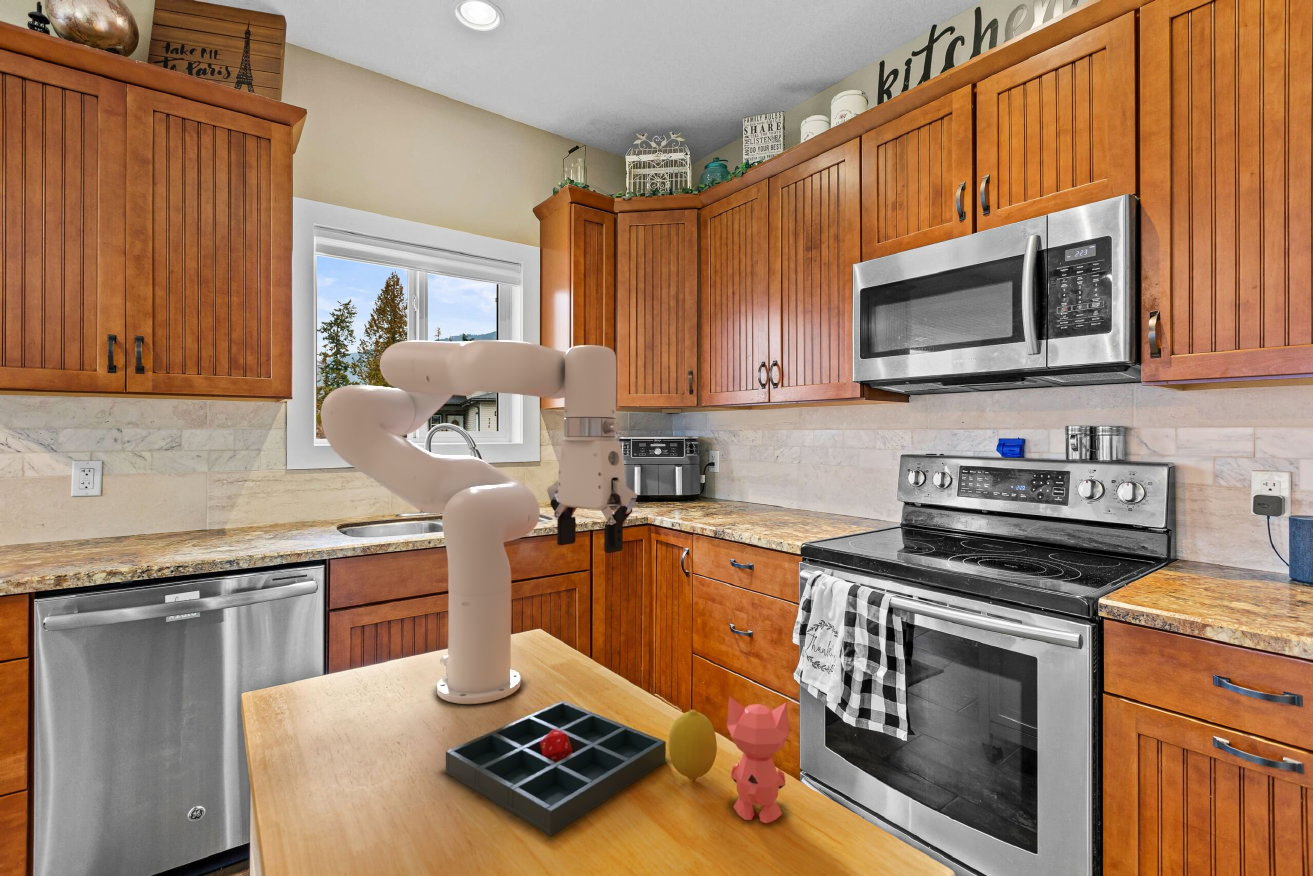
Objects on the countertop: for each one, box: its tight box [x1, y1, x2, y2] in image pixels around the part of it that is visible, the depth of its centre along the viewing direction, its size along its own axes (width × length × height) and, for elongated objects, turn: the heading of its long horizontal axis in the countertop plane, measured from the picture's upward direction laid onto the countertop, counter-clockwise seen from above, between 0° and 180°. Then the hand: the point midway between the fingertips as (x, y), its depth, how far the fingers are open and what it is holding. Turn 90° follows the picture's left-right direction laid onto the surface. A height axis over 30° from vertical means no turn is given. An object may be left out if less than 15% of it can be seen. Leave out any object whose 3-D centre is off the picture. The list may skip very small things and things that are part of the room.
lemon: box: [668, 709, 718, 782], centre depth 71 cm, size 6×6×8 cm
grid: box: [444, 700, 667, 837], centre depth 73 cm, size 18×18×2 cm
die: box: [540, 729, 572, 762], centre depth 73 cm, size 4×3×4 cm
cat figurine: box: [726, 695, 792, 824], centre depth 64 cm, size 7×7×12 cm
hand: (589, 547), depth 90 cm, fingers open, 9 cm apart
